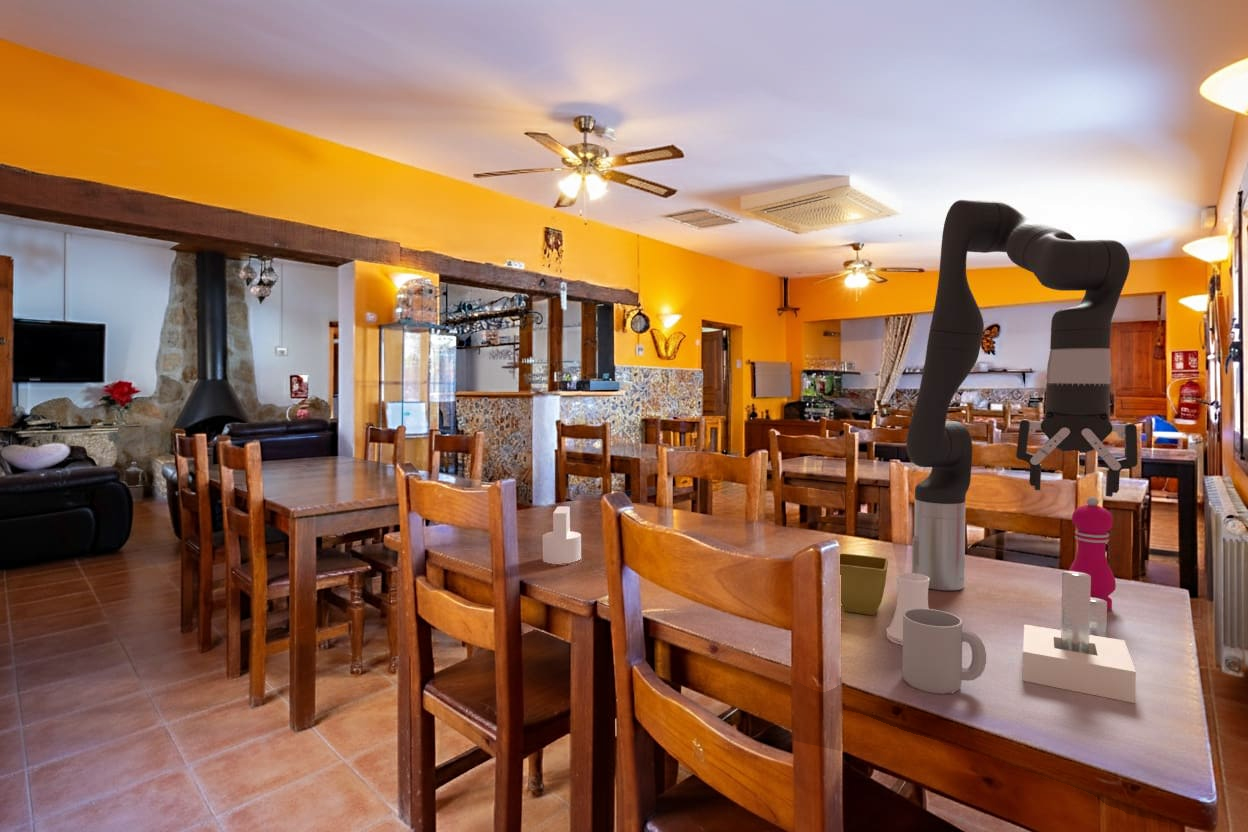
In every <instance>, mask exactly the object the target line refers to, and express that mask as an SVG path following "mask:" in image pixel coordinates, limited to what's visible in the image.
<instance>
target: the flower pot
mask: <svg viewBox="0 0 1248 832" xmlns="http://www.w3.org/2000/svg"><path fill="white" fill-rule="evenodd" d="M839 553H840V575H841V604H842V606H841V608H842V610H843V611H844V612H846V613H847V612H849V613H854V614H855V613H856V614H862V615H863V614H864V615H867V616H868V615H869V616H874V615H875V614H876V613H877V611H878V610H879V608H880V606H881V604H882V600H883V597H884V592H885V589H886V588H885V587H886V582H887V575H888V574H887V573H888V566H889V565H888V564H889V559H888V558H887V557H882V556H881V557H880V556H874V555H861V554H854V553H853V554H852V553H843V552H842V553H841V552H839Z"/></svg>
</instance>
